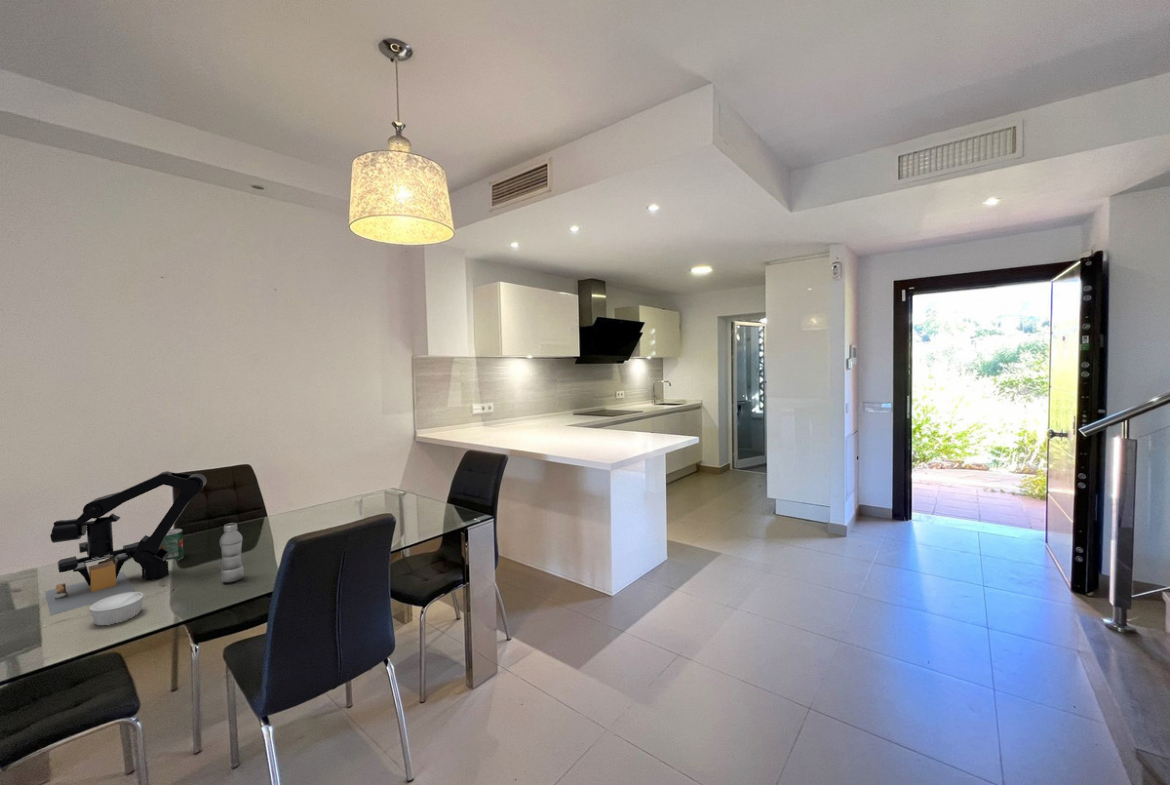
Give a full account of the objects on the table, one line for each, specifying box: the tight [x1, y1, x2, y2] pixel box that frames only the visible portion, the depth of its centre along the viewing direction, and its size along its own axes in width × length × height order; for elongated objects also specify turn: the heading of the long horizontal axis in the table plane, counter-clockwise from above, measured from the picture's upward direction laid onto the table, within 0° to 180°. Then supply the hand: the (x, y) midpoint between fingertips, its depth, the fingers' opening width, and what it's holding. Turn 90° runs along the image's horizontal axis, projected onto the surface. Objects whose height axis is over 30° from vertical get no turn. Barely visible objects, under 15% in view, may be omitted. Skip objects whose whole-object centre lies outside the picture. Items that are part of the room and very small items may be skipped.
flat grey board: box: [44, 571, 137, 616], centre depth 147 cm, size 24×18×2 cm
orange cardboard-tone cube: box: [87, 561, 116, 592], centre depth 150 cm, size 6×6×7 cm
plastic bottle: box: [219, 522, 245, 583], centre depth 157 cm, size 6×7×20 cm
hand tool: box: [97, 541, 140, 564], centre depth 174 cm, size 19×4×5 cm, turn 11°
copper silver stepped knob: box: [55, 583, 68, 599], centre depth 143 cm, size 3×3×4 cm
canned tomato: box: [161, 528, 185, 561], centre depth 175 cm, size 8×8×11 cm
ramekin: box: [89, 591, 145, 626], centre depth 134 cm, size 11×11×5 cm
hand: (102, 581), depth 150 cm, fingers closed on orange cardboard-tone cube, 6 cm apart
